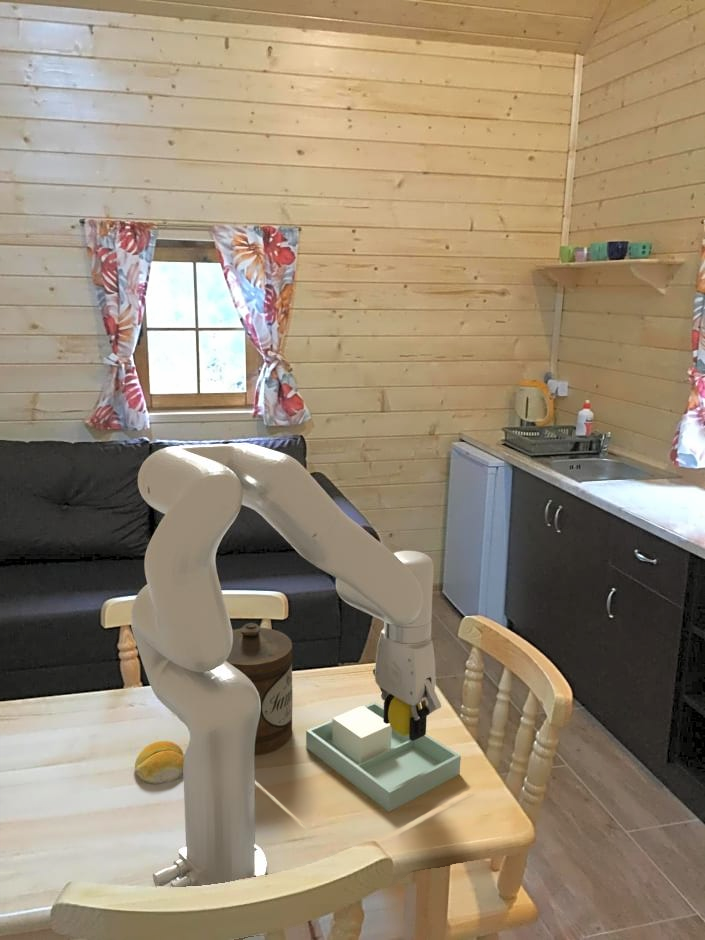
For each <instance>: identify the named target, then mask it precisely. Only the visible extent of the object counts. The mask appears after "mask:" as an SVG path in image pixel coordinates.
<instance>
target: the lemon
mask: <svg viewBox="0 0 705 940" xmlns="http://www.w3.org/2000/svg"><path fill="white" fill-rule="evenodd" d="M418 708H419V710H420V709H422V706H421V702H420V703H418ZM411 717H413V715H412V710H411V705H409V704H407V703H405V702H403V701H402V700H400V699H398V698H397V697H394V698H393V699H392V700H391V702H390V705H389V710H388V719H389V723H390V726H391V727H392V729H393V730H394V731H395V732H396V733H398V734H401V735H402V736H407V735H409V730H410V718H411Z"/></svg>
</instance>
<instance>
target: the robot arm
mask: <svg viewBox="0 0 705 940" xmlns="http://www.w3.org/2000/svg"><path fill="white" fill-rule="evenodd" d="M137 487H138V490H139V493H140V495H141V497H142V499H143V500H144V501H145V502H146V504H147V505H149V506H150V507H151V508H152V509H154V510H156V511H158V512H160V513H161V514H164V516H163V517H162V518H161V520H160V522H159V524H157V525H158V526H157V527H156V529H155V530H154V533H153V534H152V536H151V538H150V540H149V543H148V544H147V547H146V551H145V553H144V563H143V565H144V574H145V578H146V585H144V586H143V587H142V588H141V589H140V590H139V592H138V593H137V595H136V596H135V598H134V600H133V603H132V607H131V613H130V624H131V625H130V626H131V631H132V635H133V638H134V641H135V645H136V647H137V651H138V654H139V657H140V659H141V662H142V666H143V669H144V672H145V675H146V678H147V680H148V683H149V685H150V687H151V689H152V691H153V694H154V695H155V697H156V699H158V701H159V702H160V703H161V704H162V705H163V706H164V707H166V709H168V710H169V711H170V712H171V713H173V715H175V716H176V717H177V718H178V719H179V721H181V722H182V723H183V724H184V725H185V726H186V728H187V730H188V732H189V742H188V745H187V747H186V750H185V751H184V754H183V757H184V761H183V772H182V778H183V779H182V780H183V798H184V799H183V801H184V802H183V803H184V822H185V823H184V824H185V825H184V826H185V831H184V832H185V847H182V848H180V849H179V851H178V855H179V857H178V858H179V859H177V860H175V861H173V865H171V866H168V867H164V868H162V869H160V870H158V871H157V872H155V873H153V874H152V879H153V880H152V881H153V883H154V885H155V887H156V886H162V887H163V886H165V885H167V884H170V887H171V886H172V887H186V886H202V885H211V884H218V883H225V882H230V881H235V880H239V879H245V878H251V877H256V876H260V875H265V874H266V875H267V869H268V867H267V866H268V865H267V859H266V855H265V853H264V852H263V851H262V849H261V848H260V847H259V846H258V845H257V844H256V810H255V809H256V805H255V804H256V802H255V799H256V798H255V797H256V795H255V790H256V789H255V756H254V751H255V738H256V732H257V727H258V722H259V717H260V711H261V701H260V696H259V693H258V691H257V689H256V687H255V686H254V684H253V683H252V682H251V680H250V679H249V678H248V677H247V676H246V675H245V674H243V673H242V672H241V671H240V670H238V669H237V668H235V667H234V666H232V665H231V664H229V663H228V662H227V661H226V659H227V658H228V656H229V654H230V652H231V649H232V643H233V632H232V630H233V628H232V624H231V623H232V622H231V619H230V615H229V612H228V609H227V605H226V602H225V598H224V595H223V591H222V588H221V583H220V580H219V575H218V570H217V564H216V555H217V552H218V547H219V545H220V544H221V541H222V540H223V537H224V536H225V535H226V533H227V531H229V529H230V527H231V525H233V523H234V522H235V520H236V519H237V517H238V516H239V515H238V514H239V513H240V510H241V508H242V506H245V507H248V508H250V509H252V510H254V511H255V512H256V513H257V514H259V515H260V516H262V518H263V519H264V520H265V521H266V522H267V523H268V524H269V525H270V526H271V527H273V529H274V530H275V531H277V532H278V533H279V535H280V536H281V537H283V538H284V540H286V542H288V544H289V545H290V546H291V547H292V548H293V549H294V550H295V551H296V552H297V553H298V554H299V555H300V556H301V557H302V558H304V559H305V560H306V561H308V562H309V563H311V564H312V565H313V566H314V567H316V568H317V569H320V570H321V571H322V572H325V573H327V574H328V575H330V576H332V577H335V578H336V579H335V588H336V589H335V590H336V592H337V594H338V596H339V598H340V599H341V600H342V601H344V602H345V603H346V604H347V605H349V606H351V607H353V608H356V609H357V610H360V611H361V612H363V613H366V614H368V615H370V616H372V617H375V618H377V619H379V620H380V621H382V622H383V629H382V630H381V631H380V635H379V638H378V642H377V647H376V655H375V666H374V669H373V670H372V674H373V675H374V681H375V684H377V686H378V687H379V689H380V692H381V695H380V696H381V699H382V700H383V707H384V720H383V721H384V723H386V724H388V723H389V719H388V710H389V705H390V702H391V700H392V699H393V698H394V697H397V698H398V699H400V700H402V701H403V702H405V703H407V704H409V705H411V710H412V715H413V717H411V718H410V730H409V738H410V740H412V741H414V740H416V739H418V738H420V737H422V736H424V735H425V734H427V717H428V716H429V715H430V714H432V713H434V712H435V711H438V710H439V709H441V708H442V704H441V702H440V699H439V697H438V695H437V693H436V691H435V689H436V661H435V660H436V659H435V652H434V651H435V649H434V644H433V640H432V636H431V635H432V615H433V613H432V612H433V611H432V610H433V591H434V590H433V588H434V587H433V585H434V584H433V583H434V562H433V560H432V558H431V557H430V556H429V555H427V554H426V553H424V552H421V551H417V550H401V551H395V552H393V551H391V550H390V549H389V548H388V547H386V546H385V545H384V544H383V543H382V542H381V541H379V540H378V539H376V538H375V537H374V535H372V534H370V533H369V532H368V531H367V530H365V528H364V527H362V526H361V525H360V524H359V523H357V522H356V521H355V520H354V519H352V518H351V517H349V516H348V515H347V514H346V513H345V512H344V511H343V510H342V508H340V506H339V505H338V504H337V503H336V502H335V501H334V500H333V499H332V497H331V496H330V495H329V494H328V493H327V492H326V490H325V489H324V488H323V487H322V486H321V485H320V484H319V482H317V480H316V479H315V478H314V476H312V475H311V474H310V472H309V471H308V470H307V468H305V467H304V466H303V465H302V464H301V463H300V462H299V460H297V459H295V458H294V457H292V456H291V455H288V454H287V453H284V452H281V451H277V450H274V449H271V448H267V447H264V446H261V445H257V444H254V443H226V444H225V443H223V444H201V445H200V444H197V445H179V446H178V445H177V446H176V445H175V446H167V447H163V448H160V449H158V450H156V451H154V452H153V453H151V454H150V455H148V456H147V458H146V459H145V460H144V461H143V462H142V464H141V466H140V468H139V470H138V474H137ZM418 703H420V706H421V709H420V710H419V708H418Z"/></svg>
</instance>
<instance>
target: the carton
mask: <svg viewBox="0 0 705 940" xmlns="http://www.w3.org/2000/svg"><path fill="white" fill-rule="evenodd" d="M364 706H365V705H361V706H358V707H355V708H353V709H351V710H348V711H346V712H344V713H342V714H339V715H336V716H334V717H332V719H331V720H332V743H333V744H334V745H335V746H337V747H338V748H339V749H341V750H342V751H344V752H345V753H346V754H348V755H349V756H350V757H352V758H353V759H354V760H356V761H357V762H358V763H362V762H364V761H366V760H368V759H370V758H372V757H375V756H377V755H379V754H381V753H383V752H385V751H387V750H389V749H391V740H392V727H391V726H390V723H388V724H386V723H384V721H383V720H384V719H383V718H381V717H380V716H378V715H377V714H375V713H374V712H372V711H370V710H369V709H367V708H366V707H364Z"/></svg>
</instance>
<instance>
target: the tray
mask: <svg viewBox="0 0 705 940" xmlns="http://www.w3.org/2000/svg"><path fill="white" fill-rule="evenodd" d="M363 706H364V707H366V708H367V709H369V710H370V711H372V712H374V713H375V714H377V715H378V716H380V717H381V718H383V719H384V705H381V704H379V703H378V702H376V701H374V702H372V703H369V704H367V705H363ZM305 735H306V736H305V742H306V743H305V748H306V749H307V750H308V751H310V752H311V754H313V755H315V756H316V757H317V758H319V759H320V760H321V761H323V762H324V763H325V764H326V765H327V766H329V767H330V768H332V770H334V771H335V772H337V773H338V774H339V775H341V776H342V777H343V778H344V779H346V780H347V781H348V782H350V783H351V784H353V786H354V787H356V788H358V790H360V791H361V792H363V794H365V795H366V796H367V797H369V798H370V799H371V800H373V801H374V802H375V803H377V804H378V805H379V806H380V807H382V808H383V809H384V810H385V811H386V812H388V813H389V812H392V811H394V810H396V809H398V808H399V807H401V806H403V805H405V804H407V803H408V802H410V801H412V800H414V799H416V798H418V797H420V796H421V795H423V794H425V793H427V792H430V790H433V789H434V788H436V787H438V786H440V785H441V784H444V783H446V782H448V781H449V780H451V779H453V778H455V777H457V776H458V775H460V774H461V760H462V759H461V758H462V756H461V755H460V754H458V753H457V752H455V751H454V750H452V749H450V748H449V747H447V746H446V745H444V744H443V743H441V742H439V740H438V741H437V740H436V739H435V738H433V737H432V736H431V735H428V734H427V733H426V734H425V735H424V736H422V737H420V738H418V739H416V740H414V741H412V740H410V738H409V735H407V736H402V735H401V734H398V733H396V732H395V731H394V730H393V729H392V740H391V749H389V750H387V751H385V752H383V753H381V754H379V755H377V756H375V757H372V758H370V759H368V760H366V761H364V762H362V763H358V762H357V761H356V760H354V759H353V758H352V757H350V756H349V755H348V754H346V753H345V752H344V751H342V750H341V749H339V748H338V747H337V746H335V745H334V744H333V743H332V719H331V720H327V721H325V722H324V723H321V724H318V725H316V726H314V727H312V728H308V729H306V731H305Z"/></svg>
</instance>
